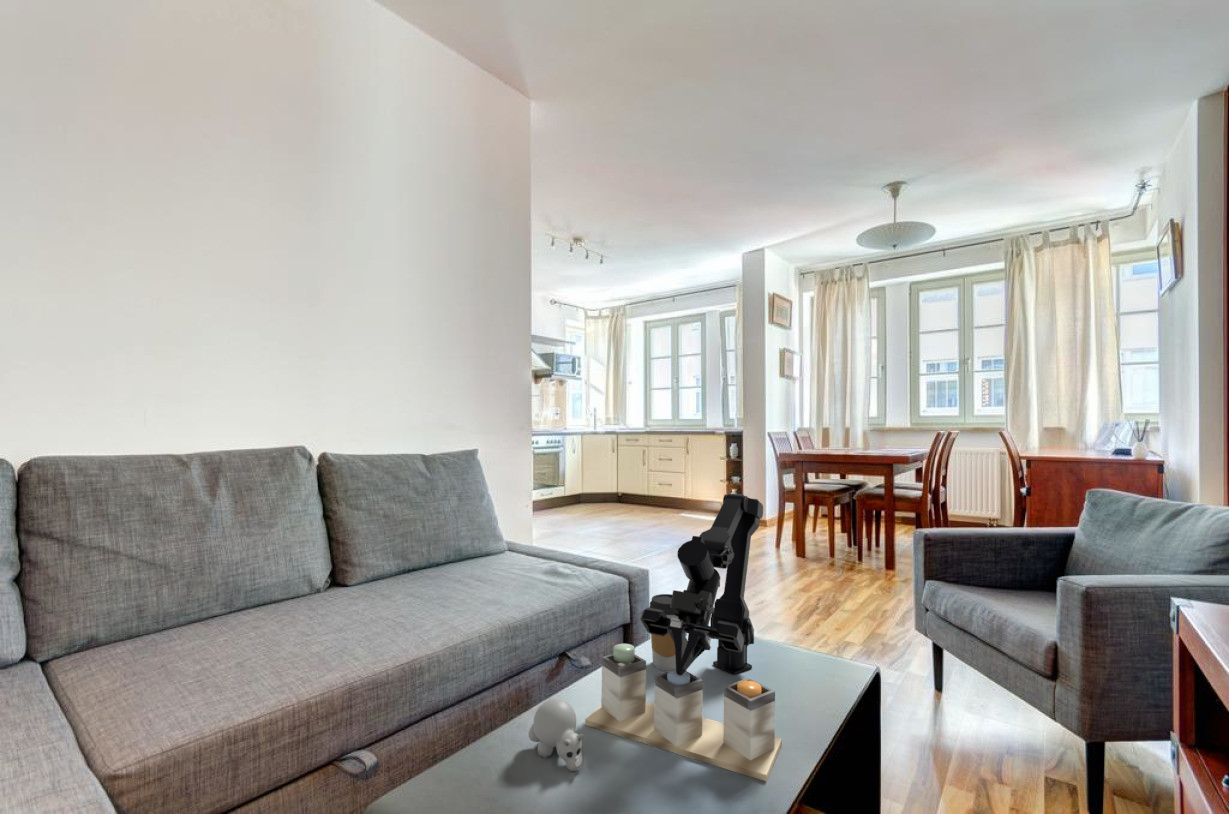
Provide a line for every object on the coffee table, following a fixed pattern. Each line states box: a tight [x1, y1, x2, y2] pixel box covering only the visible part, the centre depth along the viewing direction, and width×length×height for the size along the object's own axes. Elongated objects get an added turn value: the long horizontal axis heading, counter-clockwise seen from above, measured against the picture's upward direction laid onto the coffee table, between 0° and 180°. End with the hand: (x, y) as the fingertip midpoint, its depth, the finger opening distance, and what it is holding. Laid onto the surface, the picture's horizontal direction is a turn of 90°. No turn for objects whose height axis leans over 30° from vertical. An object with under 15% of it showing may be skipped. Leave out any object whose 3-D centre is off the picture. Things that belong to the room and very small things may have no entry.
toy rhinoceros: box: [528, 697, 584, 772], centre depth 94 cm, size 7×12×8 cm, turn 35°
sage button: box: [613, 643, 636, 663], centre depth 108 cm, size 4×4×2 cm
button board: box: [584, 653, 783, 782], centre depth 102 cm, size 11×33×11 cm, turn 62°
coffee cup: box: [648, 593, 678, 671], centre depth 130 cm, size 8×8×15 cm
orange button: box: [737, 680, 762, 699], centre depth 97 cm, size 4×4×2 cm
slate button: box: [667, 670, 690, 687], centre depth 100 cm, size 4×4×2 cm
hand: (678, 674), depth 100 cm, fingers closed, pressing on slate button
